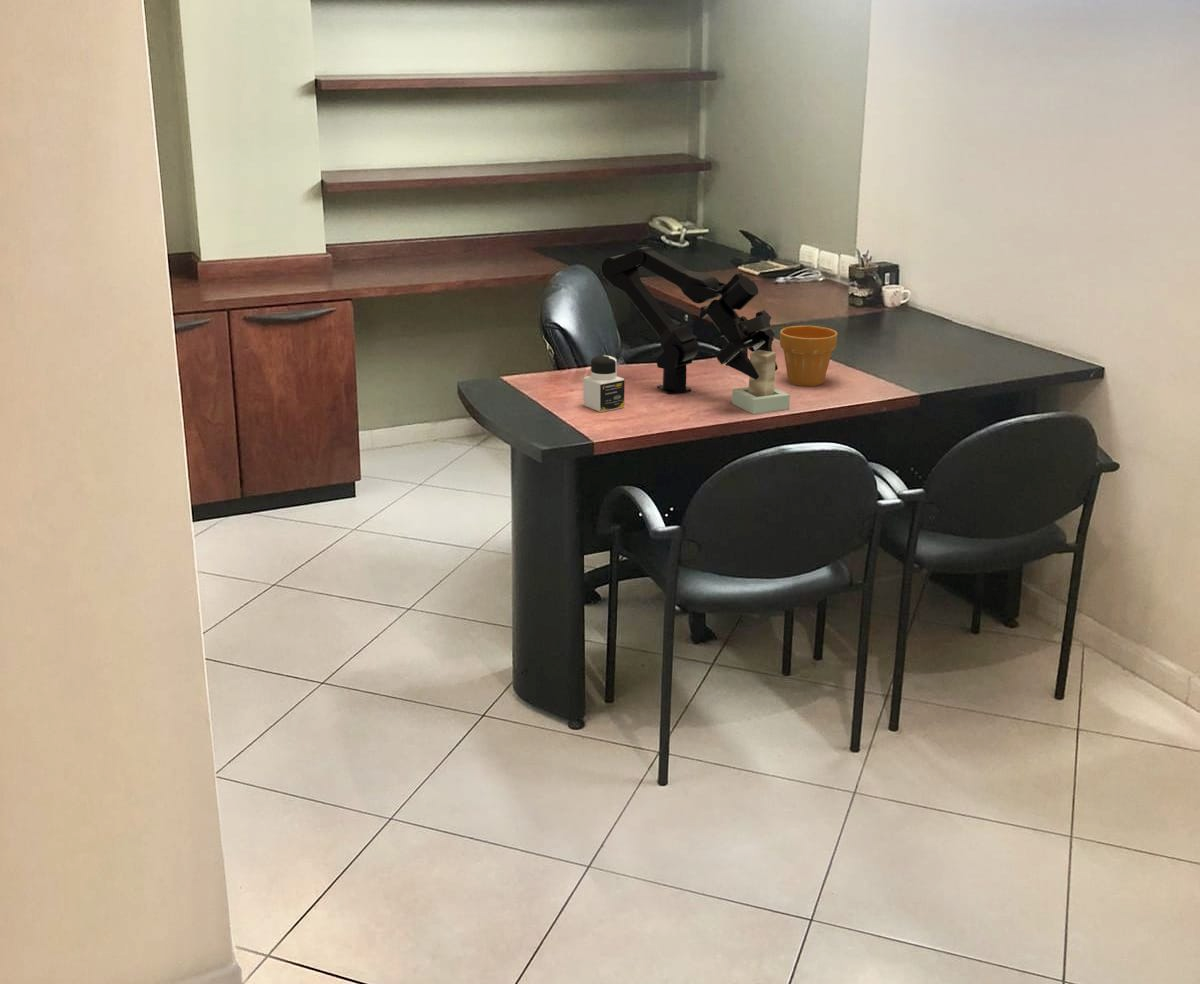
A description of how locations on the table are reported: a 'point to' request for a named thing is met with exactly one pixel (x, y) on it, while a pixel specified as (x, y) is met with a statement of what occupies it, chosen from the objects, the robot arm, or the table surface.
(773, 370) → the maple peg
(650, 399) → the table surface
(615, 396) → the medicine bottle
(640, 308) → the robot arm
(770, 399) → the socket block
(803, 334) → the flower pot
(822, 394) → the table surface
